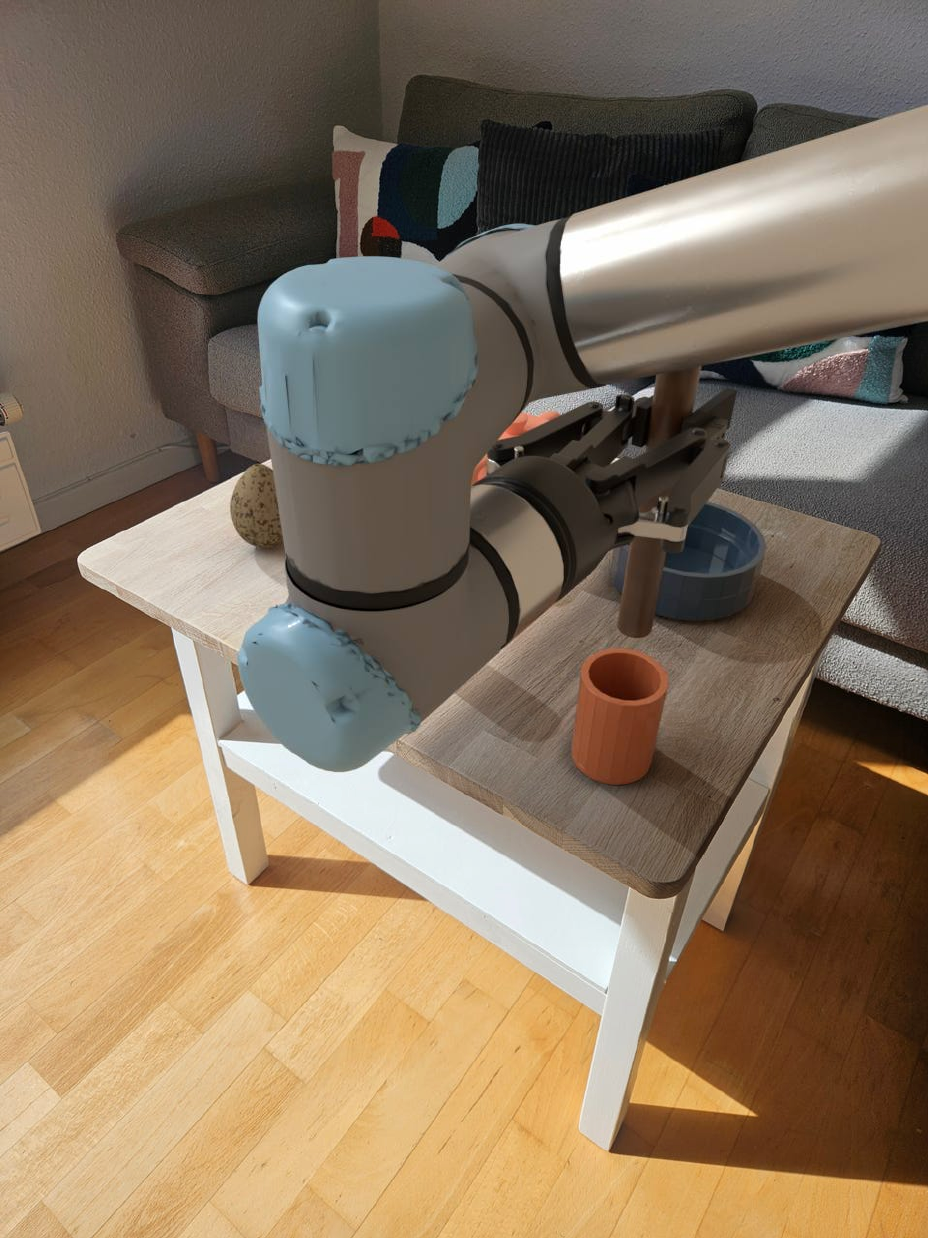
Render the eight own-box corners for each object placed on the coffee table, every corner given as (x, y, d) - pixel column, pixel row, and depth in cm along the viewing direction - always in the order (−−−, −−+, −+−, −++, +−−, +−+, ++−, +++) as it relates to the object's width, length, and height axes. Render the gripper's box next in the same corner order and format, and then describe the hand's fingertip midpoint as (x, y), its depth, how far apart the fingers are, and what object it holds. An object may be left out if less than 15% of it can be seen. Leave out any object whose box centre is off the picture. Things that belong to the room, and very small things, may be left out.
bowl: (775, 575, 96) (789, 528, 92) (715, 645, 86) (727, 596, 82) (650, 528, 103) (658, 483, 99) (582, 587, 93) (588, 540, 89)
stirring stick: (657, 625, 66) (718, 309, 52) (641, 643, 65) (699, 321, 50) (627, 613, 68) (678, 300, 53) (610, 629, 66) (659, 311, 51)
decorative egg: (269, 520, 103) (258, 443, 97) (313, 540, 99) (305, 462, 93) (223, 547, 98) (208, 468, 92) (268, 568, 95) (256, 488, 89)
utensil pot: (665, 750, 75) (683, 671, 69) (626, 798, 70) (642, 718, 65) (597, 715, 78) (609, 637, 72) (555, 759, 73) (565, 680, 68)
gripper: (396, 556, 51) (600, 420, 66) (632, 665, 43) (803, 484, 58) (391, 438, 46) (612, 321, 61) (655, 538, 39) (834, 377, 54)
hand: (705, 401), depth 60 cm, fingers closed on stirring stick, 3 cm apart
